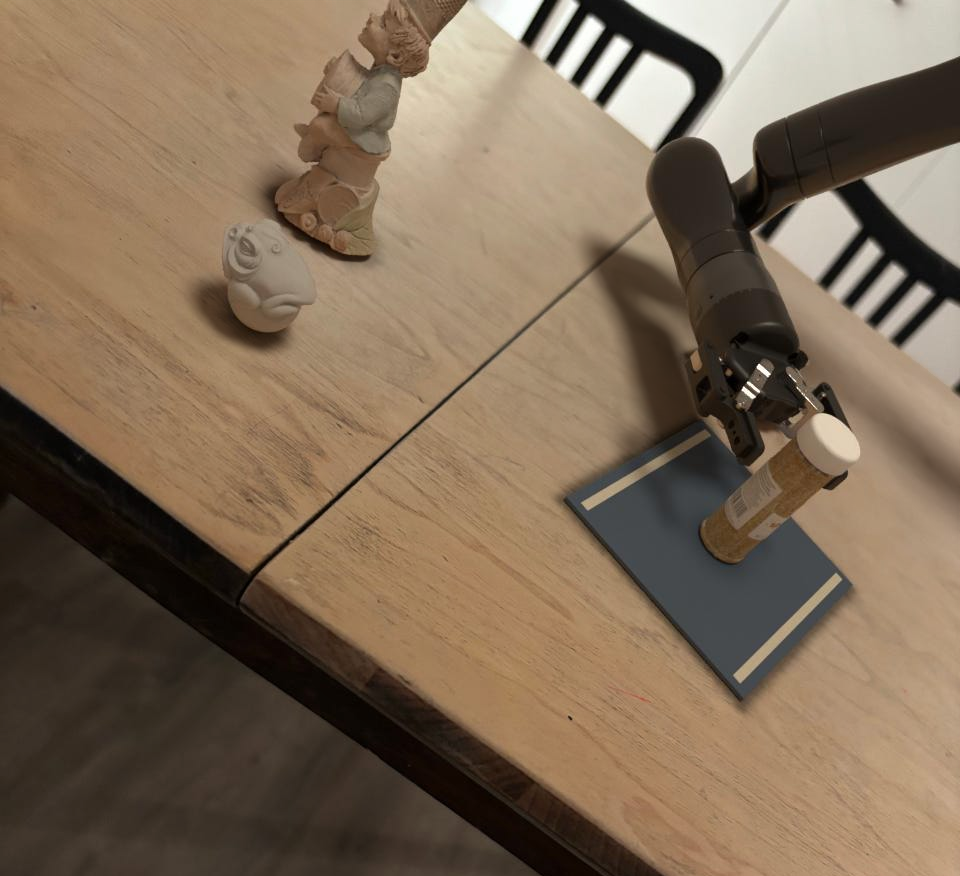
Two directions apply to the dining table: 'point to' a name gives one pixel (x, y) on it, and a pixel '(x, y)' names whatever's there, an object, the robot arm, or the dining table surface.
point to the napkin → (709, 557)
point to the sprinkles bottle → (780, 487)
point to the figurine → (359, 125)
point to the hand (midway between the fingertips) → (795, 471)
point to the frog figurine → (265, 275)
